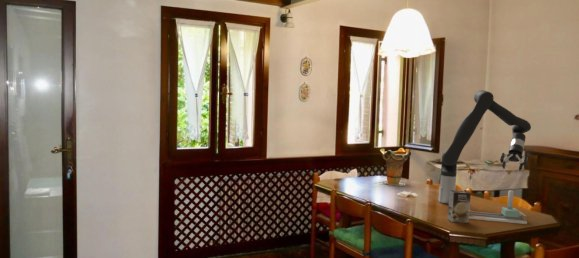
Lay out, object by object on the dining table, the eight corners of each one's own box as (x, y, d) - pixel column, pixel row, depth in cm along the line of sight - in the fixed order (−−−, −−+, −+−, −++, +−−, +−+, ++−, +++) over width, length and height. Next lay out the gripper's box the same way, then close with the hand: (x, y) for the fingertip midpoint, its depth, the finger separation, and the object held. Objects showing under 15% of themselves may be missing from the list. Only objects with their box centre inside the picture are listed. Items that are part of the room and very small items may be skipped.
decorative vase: (371, 181, 344) (375, 145, 342) (394, 181, 355) (398, 146, 353) (389, 186, 325) (394, 148, 324) (413, 186, 336) (417, 149, 335)
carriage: (505, 216, 244) (507, 192, 243) (501, 213, 251) (503, 189, 250) (518, 217, 243) (520, 193, 242) (514, 214, 250) (516, 190, 249)
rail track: (468, 218, 245) (469, 211, 245) (463, 213, 257) (464, 206, 256) (526, 224, 240) (527, 216, 240) (519, 218, 252) (519, 211, 252)
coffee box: (451, 222, 236) (454, 192, 235) (447, 218, 242) (449, 189, 241) (468, 222, 236) (471, 193, 235) (463, 219, 243) (465, 190, 242)
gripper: (503, 142, 271) (497, 163, 263) (529, 144, 263) (524, 166, 255) (504, 150, 276) (499, 171, 268) (530, 153, 268) (525, 174, 259)
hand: (511, 168), depth 261 cm, fingers open, 8 cm apart
